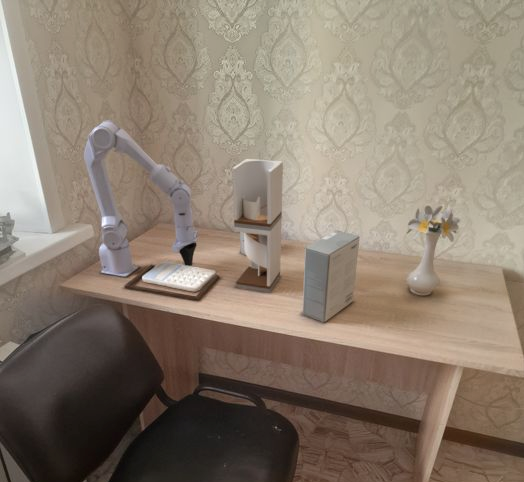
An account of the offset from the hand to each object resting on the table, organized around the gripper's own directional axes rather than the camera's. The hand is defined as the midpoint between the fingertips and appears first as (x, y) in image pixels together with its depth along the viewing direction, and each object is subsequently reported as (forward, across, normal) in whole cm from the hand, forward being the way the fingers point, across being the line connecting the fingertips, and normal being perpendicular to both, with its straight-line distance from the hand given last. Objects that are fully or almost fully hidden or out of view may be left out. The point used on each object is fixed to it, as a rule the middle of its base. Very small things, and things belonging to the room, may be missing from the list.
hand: (188, 265), depth 151 cm
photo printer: (+2, +22, -14) cm, 26 cm away
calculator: (+2, -7, 0) cm, 7 cm away
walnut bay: (+1, -11, 0) cm, 11 cm away
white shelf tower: (+2, -1, -25) cm, 25 cm away
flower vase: (+2, +10, -73) cm, 74 cm away
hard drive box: (+2, -10, -49) cm, 50 cm away
